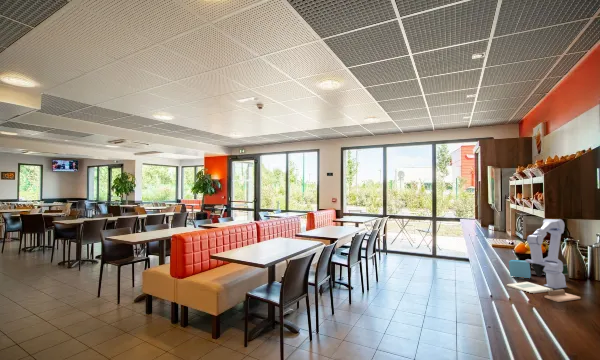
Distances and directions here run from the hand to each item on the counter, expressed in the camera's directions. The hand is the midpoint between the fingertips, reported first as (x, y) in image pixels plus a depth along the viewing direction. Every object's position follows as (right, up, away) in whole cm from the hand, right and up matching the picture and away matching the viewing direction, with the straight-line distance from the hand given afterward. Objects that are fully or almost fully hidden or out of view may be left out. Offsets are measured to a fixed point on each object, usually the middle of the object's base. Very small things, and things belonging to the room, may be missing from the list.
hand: (539, 276), depth 188 cm
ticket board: (-2, -10, +6) cm, 12 cm away
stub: (+2, -8, -15) cm, 17 cm away
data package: (+11, -11, +31) cm, 34 cm away
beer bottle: (+31, -9, +19) cm, 37 cm away
